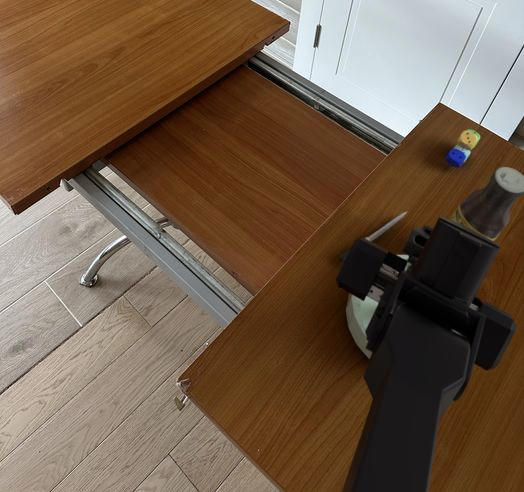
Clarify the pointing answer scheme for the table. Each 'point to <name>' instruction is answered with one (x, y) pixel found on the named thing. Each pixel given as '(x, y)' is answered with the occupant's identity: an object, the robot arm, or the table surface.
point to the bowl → (362, 316)
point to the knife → (375, 234)
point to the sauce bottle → (491, 203)
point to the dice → (463, 148)
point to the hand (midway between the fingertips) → (422, 283)
